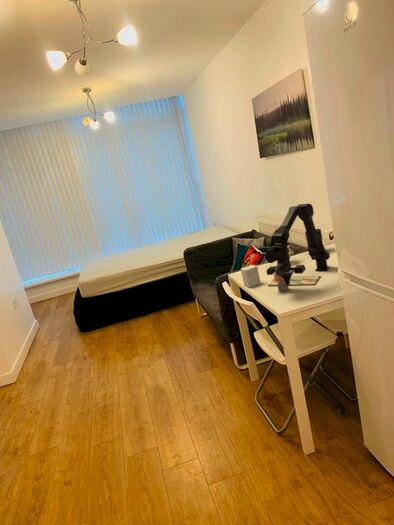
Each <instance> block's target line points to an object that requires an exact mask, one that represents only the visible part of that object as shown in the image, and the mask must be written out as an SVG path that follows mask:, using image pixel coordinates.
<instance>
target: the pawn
mask: <svg viewBox="0 0 394 525" xmlns="http://www.w3.org/2000/svg"><path fill="white" fill-rule="evenodd" d="M273 279H274V282H282V281H283V278H282V277H281V276H277V275H276V272H274V273H273Z"/></svg>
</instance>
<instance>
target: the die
mask: <svg viewBox="0 0 394 525" xmlns="http://www.w3.org/2000/svg"><path fill="white" fill-rule="evenodd" d="M276 287H277V290H278V293H286V292H287V291H288V290H289V288H290V287H289V286H287V284H286V283H285V282H279V283H278V285H277V286H276Z"/></svg>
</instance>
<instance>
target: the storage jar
mask: <svg viewBox="0 0 394 525" xmlns="http://www.w3.org/2000/svg"><path fill="white" fill-rule="evenodd" d="M315 229H316V232H317V236H318V239H319V242H320V243H321V244H322V245H324V244H323V234H322V230H321V229H320V228H315ZM304 233H305V239H306V244H307V250H308V249H309V247H310V242H309V239H308V236H307V233H306V231H305V232H304Z"/></svg>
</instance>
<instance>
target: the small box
mask: <svg viewBox="0 0 394 525" xmlns="http://www.w3.org/2000/svg"><path fill="white" fill-rule="evenodd" d="M240 272H241V277H242V281H243V286H244V287H246V288H248V289H251V288H253V287H255V286H258V285H260V284H262V282H261V278H260V273H259V269H258V266H257V265H255V264H251V265H248V266H245V267H243V268H240Z"/></svg>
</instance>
